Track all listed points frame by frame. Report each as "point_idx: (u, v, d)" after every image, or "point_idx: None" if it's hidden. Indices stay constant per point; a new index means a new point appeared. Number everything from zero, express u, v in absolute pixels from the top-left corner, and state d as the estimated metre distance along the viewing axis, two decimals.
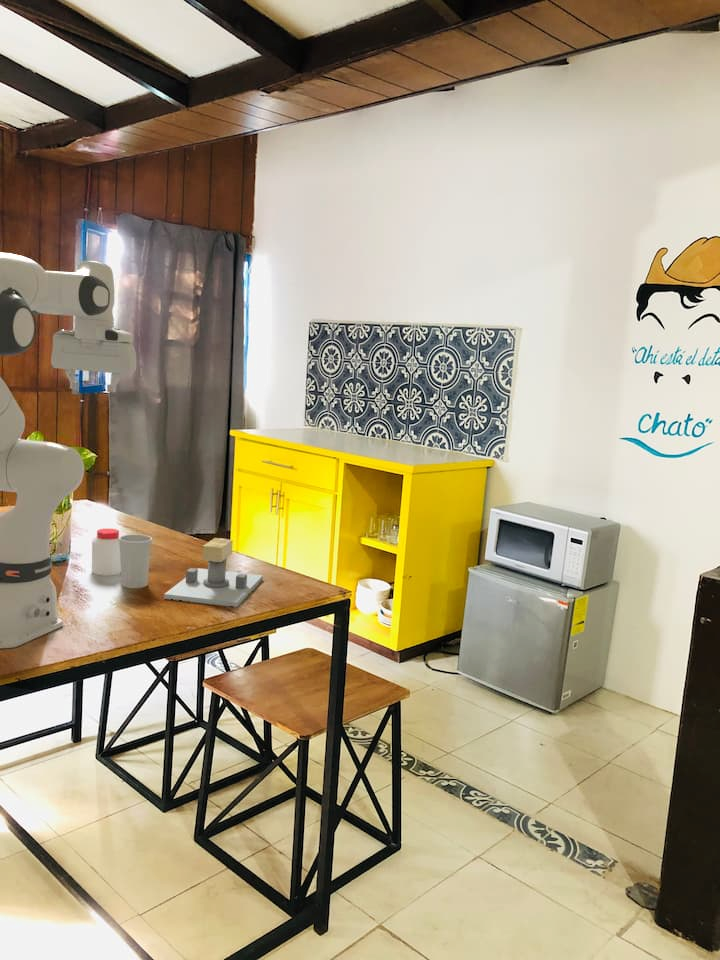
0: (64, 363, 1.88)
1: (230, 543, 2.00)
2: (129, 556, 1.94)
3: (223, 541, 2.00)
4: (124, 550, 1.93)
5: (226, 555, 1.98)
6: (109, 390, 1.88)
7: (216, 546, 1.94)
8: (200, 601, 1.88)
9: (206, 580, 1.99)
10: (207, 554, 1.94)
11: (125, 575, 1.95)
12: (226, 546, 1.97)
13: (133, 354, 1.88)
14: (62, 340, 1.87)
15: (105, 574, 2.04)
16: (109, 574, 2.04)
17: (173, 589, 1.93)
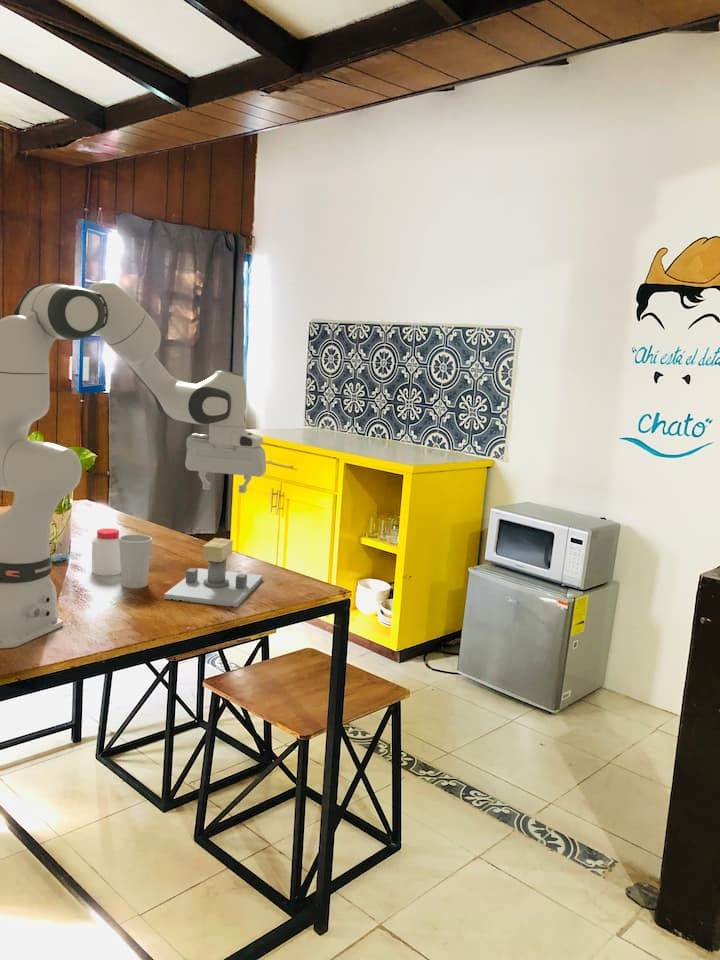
0: (198, 466, 1.97)
1: (230, 543, 2.00)
2: (129, 556, 1.93)
3: (223, 541, 2.00)
4: (124, 550, 1.93)
5: (226, 555, 1.98)
6: (241, 491, 1.98)
7: (216, 546, 1.94)
8: (200, 601, 1.88)
9: (206, 580, 1.99)
10: (207, 554, 1.94)
11: (125, 575, 1.95)
12: (226, 546, 1.97)
13: (264, 457, 1.97)
14: (196, 444, 1.96)
15: (105, 574, 2.04)
16: (109, 574, 2.04)
17: (173, 589, 1.93)
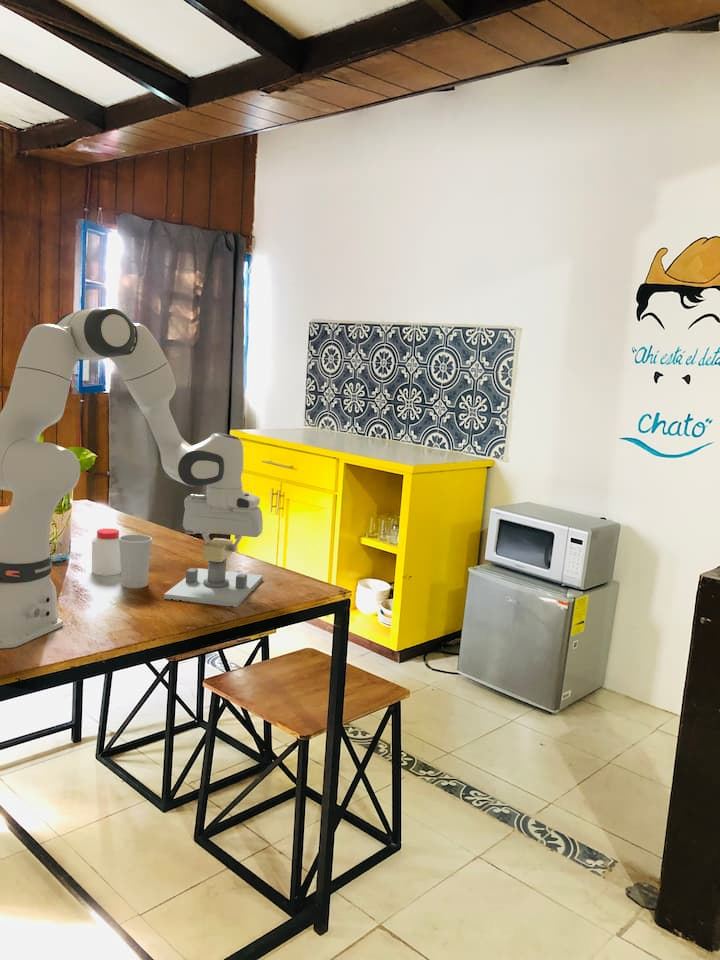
0: (195, 526, 1.99)
1: (230, 543, 2.00)
2: (129, 556, 1.93)
3: (223, 541, 2.00)
4: (124, 550, 1.93)
5: (226, 555, 1.98)
6: (232, 550, 2.00)
7: (216, 546, 1.94)
8: (200, 601, 1.88)
9: (206, 580, 1.99)
10: (207, 554, 1.94)
11: (125, 575, 1.95)
12: (226, 546, 1.97)
13: (261, 517, 1.99)
14: (194, 505, 1.99)
15: (105, 574, 2.04)
16: (109, 574, 2.04)
17: (173, 589, 1.93)
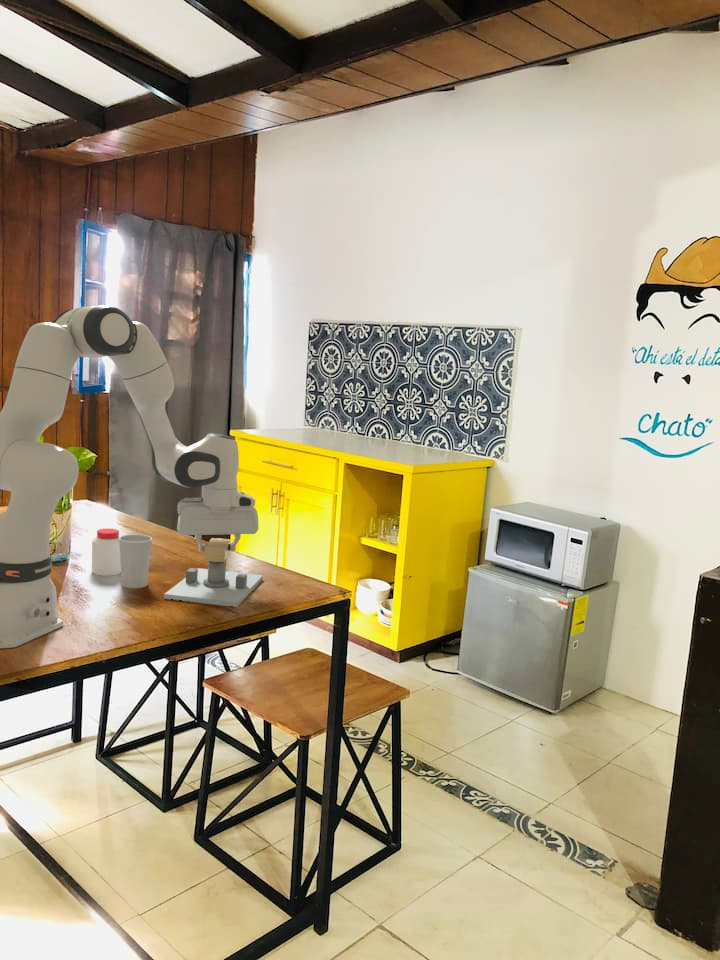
0: (193, 530, 1.96)
1: (229, 543, 2.01)
2: (129, 556, 1.93)
3: (222, 541, 2.00)
4: (124, 550, 1.93)
5: (226, 555, 1.98)
6: (232, 549, 2.01)
7: (218, 546, 1.94)
8: (200, 601, 1.88)
9: (206, 580, 1.99)
10: (209, 554, 1.94)
11: (125, 575, 1.95)
12: (227, 546, 1.97)
13: None
14: (191, 508, 1.95)
15: (105, 574, 2.04)
16: (109, 574, 2.04)
17: (173, 589, 1.93)
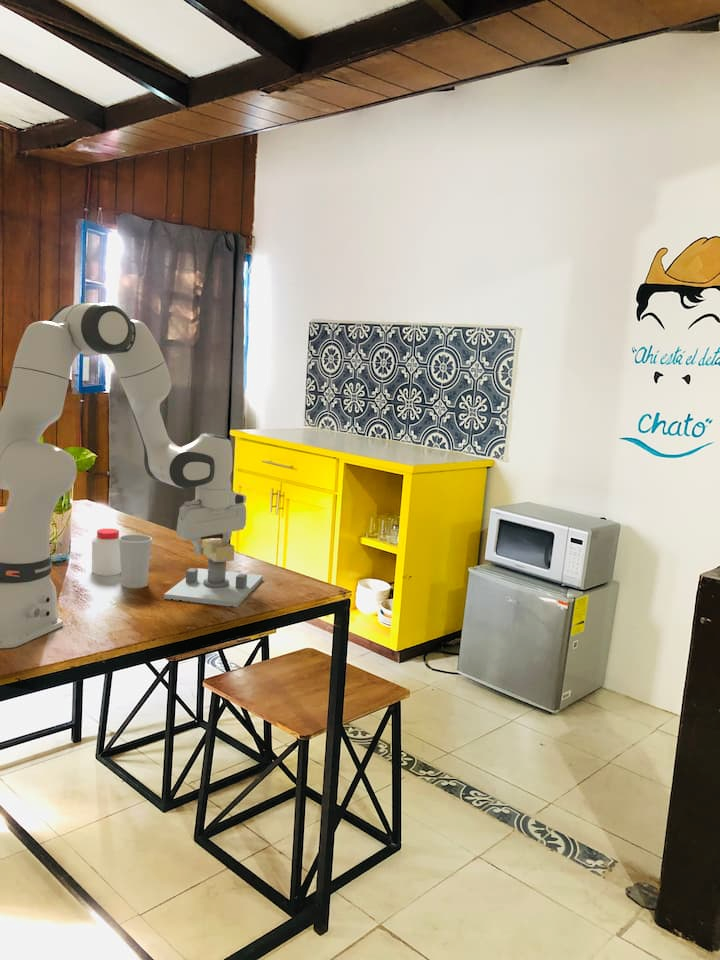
0: (196, 533, 1.93)
1: None
2: (129, 556, 1.93)
3: (218, 540, 2.00)
4: (124, 550, 1.93)
5: None
6: None
7: (226, 546, 1.95)
8: (200, 601, 1.88)
9: (206, 580, 1.99)
10: (220, 555, 1.94)
11: (125, 575, 1.95)
12: None
13: None
14: (195, 512, 1.91)
15: (105, 574, 2.04)
16: (109, 574, 2.04)
17: (173, 589, 1.93)
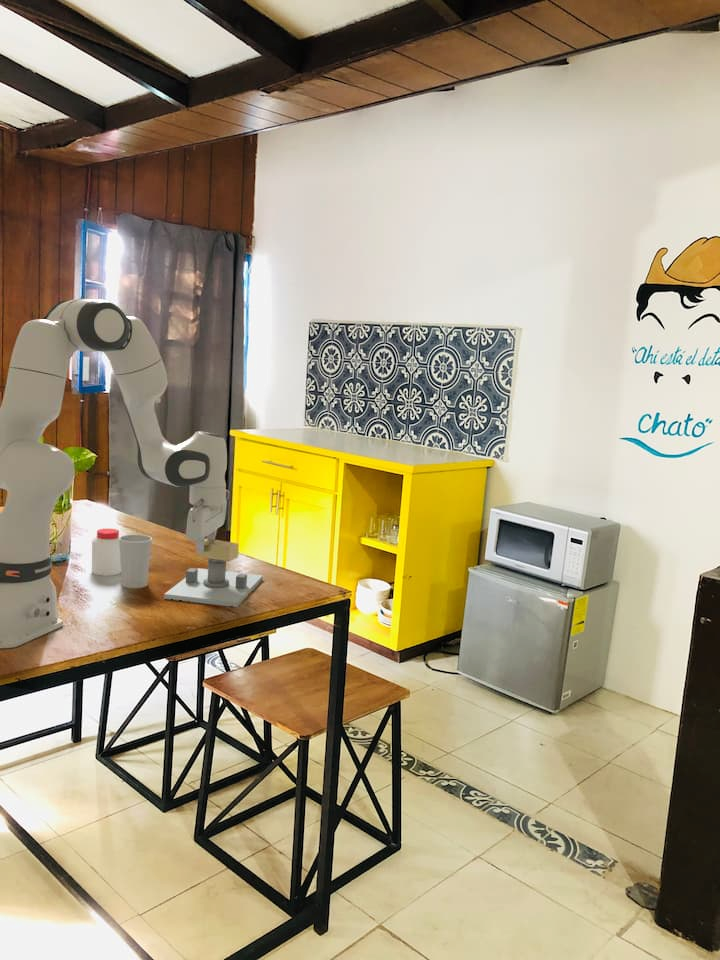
0: (204, 533, 1.91)
1: None
2: (129, 556, 1.93)
3: (213, 541, 1.99)
4: (124, 550, 1.93)
5: None
6: None
7: (232, 544, 1.98)
8: (200, 601, 1.88)
9: (206, 580, 1.99)
10: (231, 554, 1.96)
11: (125, 575, 1.95)
12: None
13: None
14: (204, 512, 1.90)
15: (105, 574, 2.04)
16: (109, 574, 2.04)
17: (173, 589, 1.93)
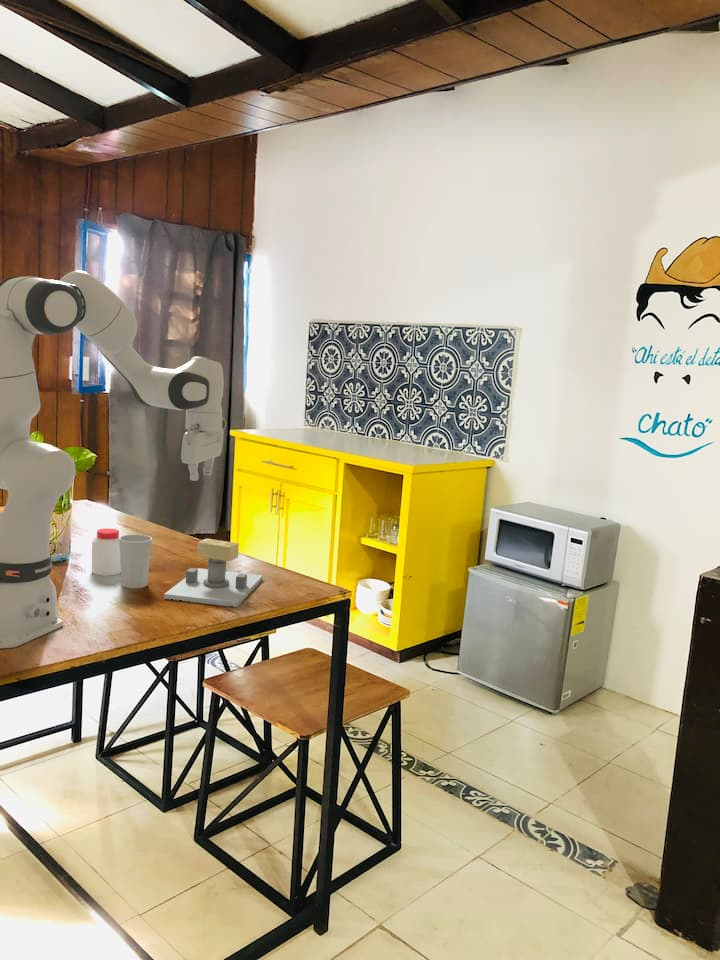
0: (199, 457, 1.90)
1: None
2: (129, 556, 1.93)
3: (213, 541, 1.99)
4: (124, 550, 1.93)
5: None
6: (209, 473, 2.02)
7: (232, 544, 1.98)
8: (200, 601, 1.88)
9: (206, 580, 1.99)
10: (231, 554, 1.96)
11: (125, 575, 1.95)
12: None
13: None
14: (200, 435, 1.89)
15: (105, 574, 2.04)
16: (109, 574, 2.04)
17: (173, 589, 1.93)
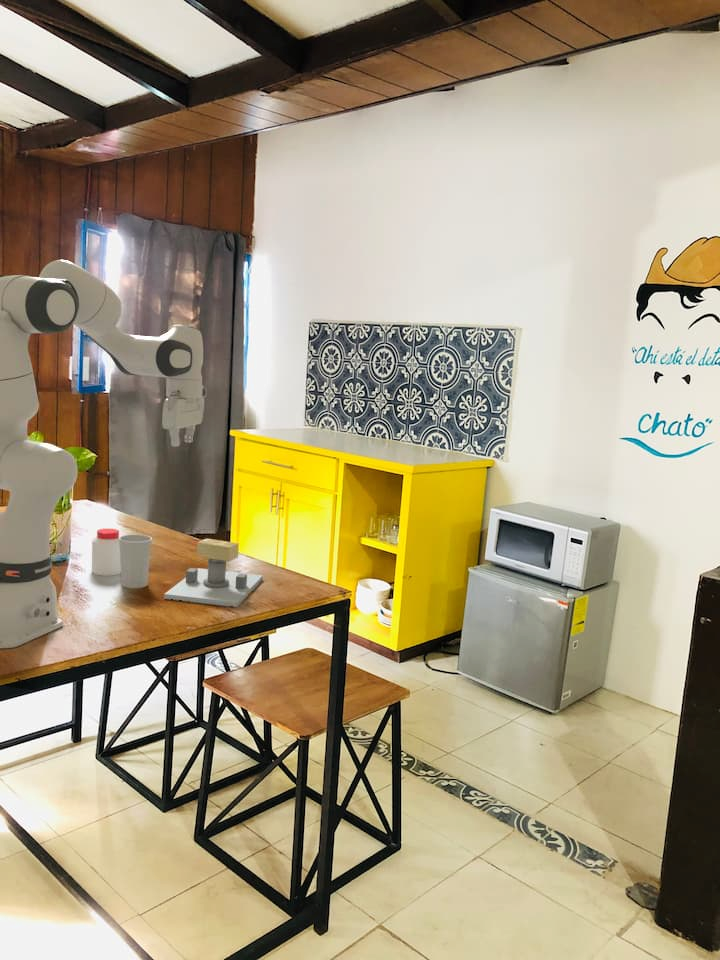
0: (180, 423, 1.95)
1: None
2: (129, 556, 1.93)
3: (213, 541, 1.99)
4: (124, 550, 1.93)
5: None
6: (190, 440, 2.07)
7: (232, 544, 1.98)
8: (200, 601, 1.88)
9: (206, 580, 1.99)
10: (231, 554, 1.96)
11: (125, 575, 1.95)
12: None
13: None
14: (180, 401, 1.94)
15: (105, 574, 2.04)
16: (109, 574, 2.04)
17: (173, 589, 1.93)
